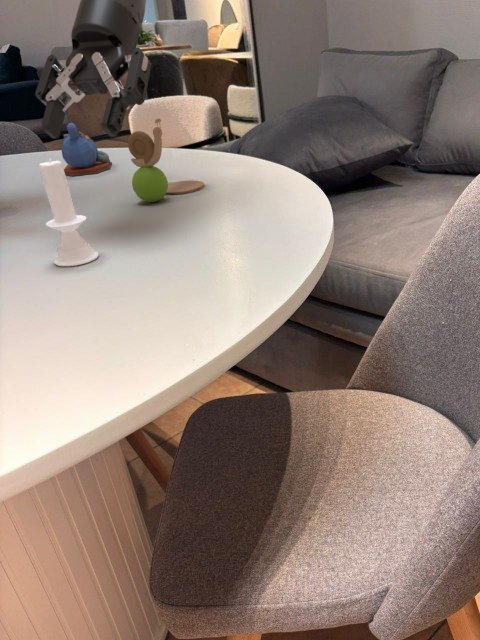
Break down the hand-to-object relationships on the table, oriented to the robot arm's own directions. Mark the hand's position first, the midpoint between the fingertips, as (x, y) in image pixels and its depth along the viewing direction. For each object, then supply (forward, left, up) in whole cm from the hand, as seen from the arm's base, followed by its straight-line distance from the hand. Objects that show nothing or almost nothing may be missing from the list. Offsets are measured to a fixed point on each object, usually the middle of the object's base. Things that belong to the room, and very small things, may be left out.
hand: (79, 133), depth 76 cm
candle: (-2, -6, -14) cm, 15 cm away
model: (-17, +52, -14) cm, 57 cm away
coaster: (+6, +28, -13) cm, 31 cm away
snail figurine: (+3, +20, -14) cm, 24 cm away
